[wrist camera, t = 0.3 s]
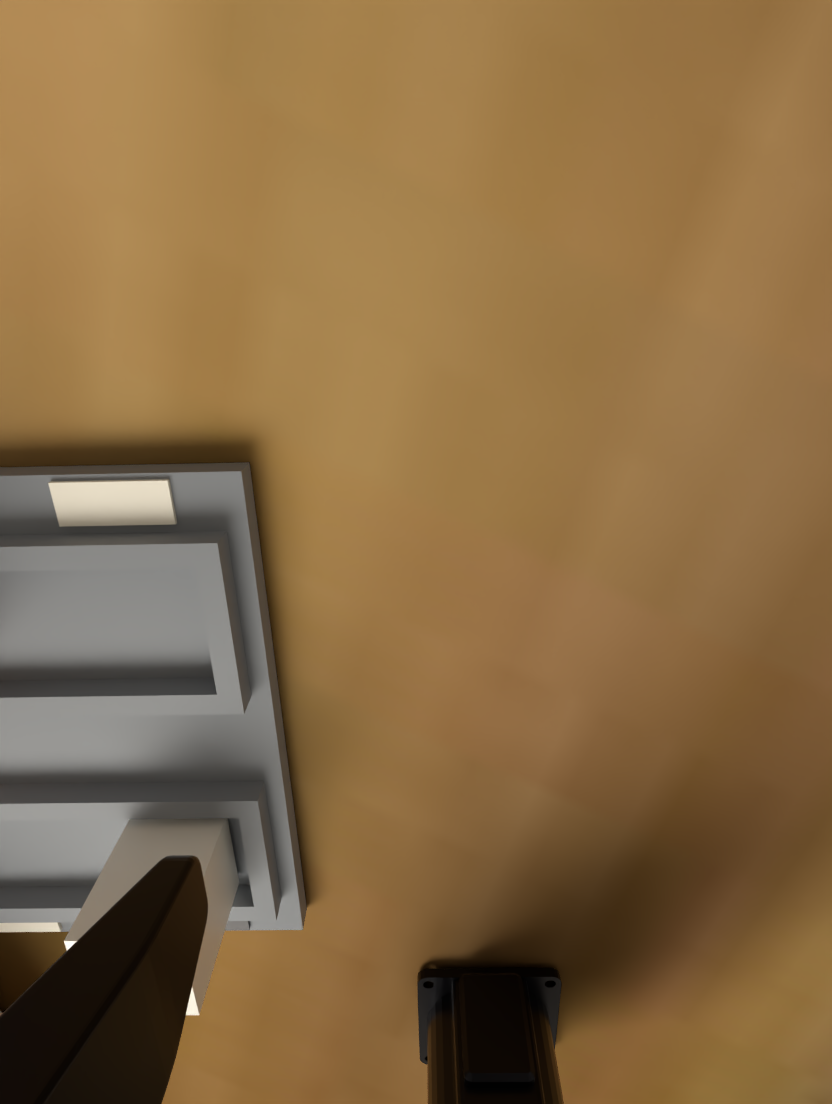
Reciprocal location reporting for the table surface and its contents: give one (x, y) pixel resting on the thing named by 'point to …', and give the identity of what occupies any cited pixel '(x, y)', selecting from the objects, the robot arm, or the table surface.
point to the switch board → (137, 683)
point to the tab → (143, 851)
